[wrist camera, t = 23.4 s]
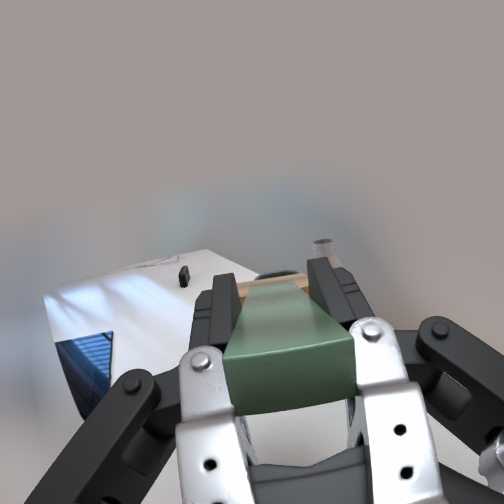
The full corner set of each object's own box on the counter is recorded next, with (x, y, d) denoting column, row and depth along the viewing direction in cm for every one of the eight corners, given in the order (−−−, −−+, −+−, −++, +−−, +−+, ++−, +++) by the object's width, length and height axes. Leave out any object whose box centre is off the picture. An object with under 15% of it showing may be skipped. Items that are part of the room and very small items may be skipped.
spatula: (420, 378, 6) (420, 319, 6) (165, 420, 6) (149, 363, 6) (304, 286, 26) (302, 269, 26) (237, 296, 26) (235, 279, 26)
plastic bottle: (354, 341, 52) (349, 239, 48) (327, 355, 50) (319, 248, 45) (332, 330, 58) (325, 235, 54) (306, 342, 56) (296, 243, 51)
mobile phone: (185, 274, 101) (188, 262, 116) (177, 275, 101) (180, 264, 115) (188, 287, 102) (190, 274, 117) (180, 288, 102) (183, 275, 116)
